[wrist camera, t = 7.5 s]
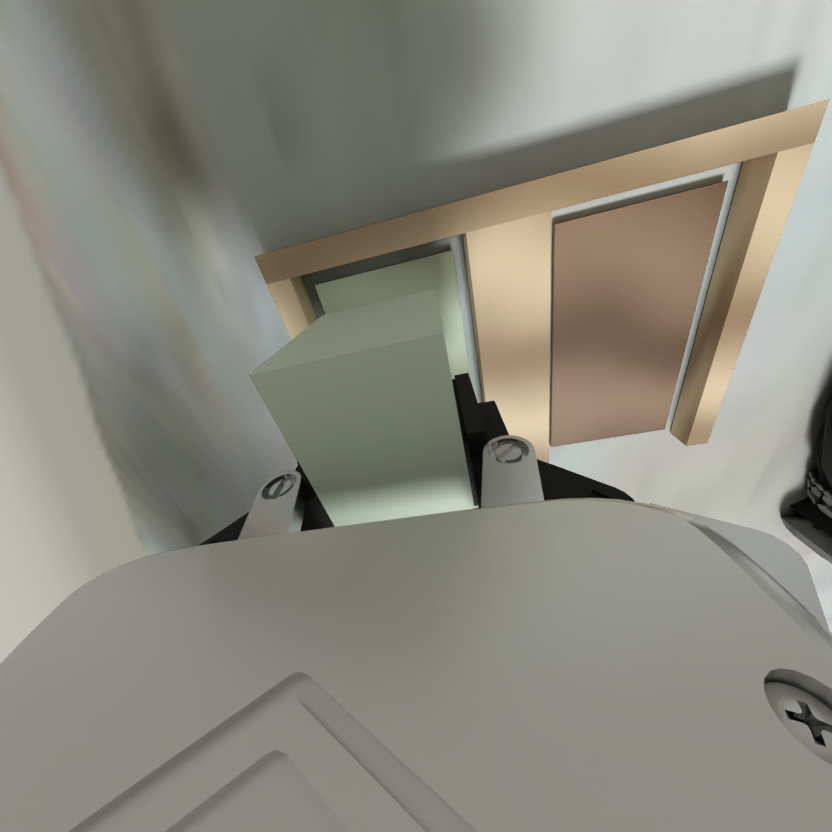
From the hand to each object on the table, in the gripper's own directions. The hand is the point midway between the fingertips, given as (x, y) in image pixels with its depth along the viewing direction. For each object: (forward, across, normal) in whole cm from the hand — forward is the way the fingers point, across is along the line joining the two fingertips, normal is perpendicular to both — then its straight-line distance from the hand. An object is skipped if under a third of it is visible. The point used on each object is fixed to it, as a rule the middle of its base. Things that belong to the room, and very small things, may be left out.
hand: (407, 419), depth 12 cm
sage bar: (0, 0, 0) cm, 0 cm away
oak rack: (+4, -5, 0) cm, 6 cm away
